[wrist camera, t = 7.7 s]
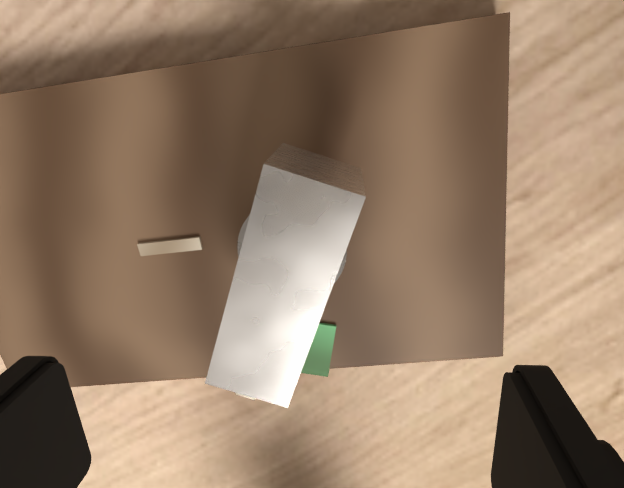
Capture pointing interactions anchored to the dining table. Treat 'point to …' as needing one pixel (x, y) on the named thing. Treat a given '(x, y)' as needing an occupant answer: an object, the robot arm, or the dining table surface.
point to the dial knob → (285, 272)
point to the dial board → (240, 196)
